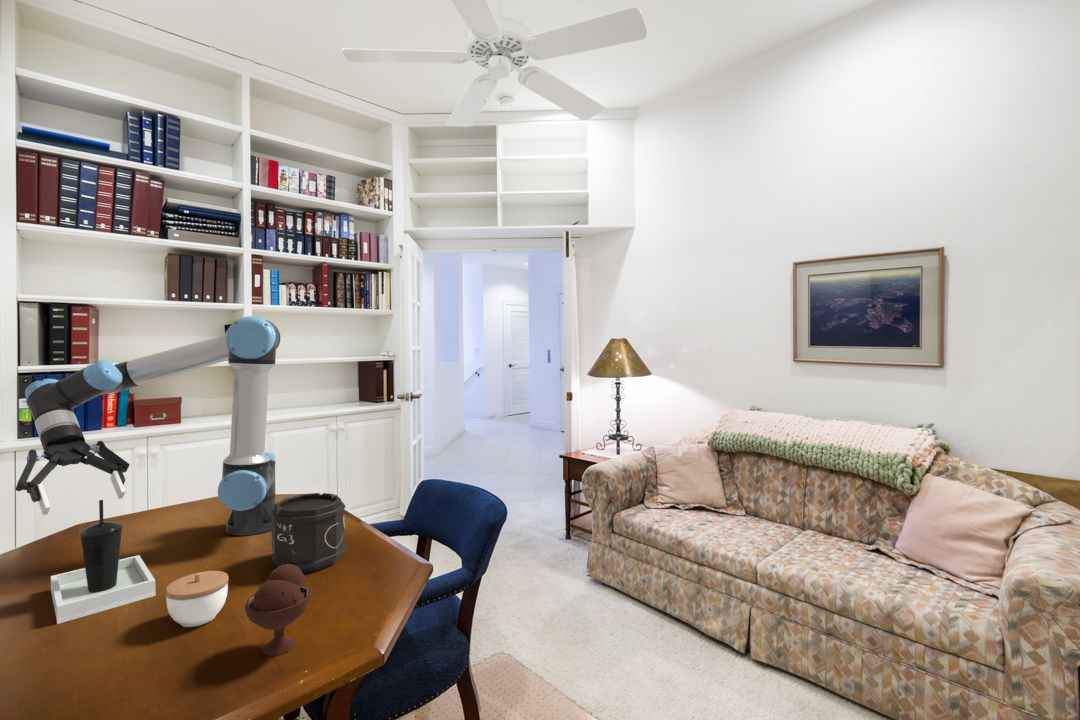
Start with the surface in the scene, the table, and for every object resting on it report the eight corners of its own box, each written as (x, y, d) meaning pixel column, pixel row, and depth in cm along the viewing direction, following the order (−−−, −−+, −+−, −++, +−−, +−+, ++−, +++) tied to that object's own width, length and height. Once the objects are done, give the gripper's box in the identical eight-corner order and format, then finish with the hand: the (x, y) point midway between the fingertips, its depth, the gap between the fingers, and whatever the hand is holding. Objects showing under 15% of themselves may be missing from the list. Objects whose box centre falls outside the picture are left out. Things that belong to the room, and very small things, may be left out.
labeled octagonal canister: (348, 543, 143) (347, 488, 143) (343, 569, 126) (343, 507, 126) (278, 550, 138) (277, 494, 137) (263, 579, 121) (262, 515, 120)
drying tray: (50, 591, 115) (50, 576, 115) (139, 568, 126) (139, 555, 126) (57, 624, 101) (56, 607, 101) (155, 595, 113) (155, 580, 113)
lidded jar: (240, 607, 108) (240, 564, 108) (202, 635, 97) (201, 587, 97) (194, 604, 109) (194, 561, 109) (152, 632, 98) (151, 585, 98)
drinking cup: (132, 582, 116) (131, 497, 116) (94, 598, 109) (92, 507, 109) (110, 577, 119) (109, 493, 118) (71, 592, 112) (69, 503, 111)
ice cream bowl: (261, 632, 98) (260, 557, 98) (320, 629, 99) (319, 555, 99) (233, 666, 88) (232, 582, 87) (299, 663, 89) (298, 580, 88)
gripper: (118, 434, 136) (144, 498, 129) (-17, 451, 114) (6, 528, 107) (126, 416, 133) (154, 480, 126) (-10, 430, 112) (14, 508, 104)
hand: (86, 503), depth 117 cm, fingers open, 13 cm apart
